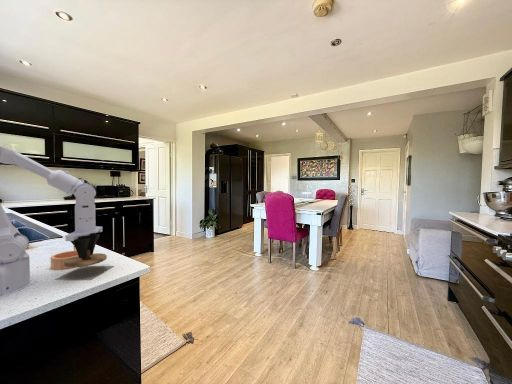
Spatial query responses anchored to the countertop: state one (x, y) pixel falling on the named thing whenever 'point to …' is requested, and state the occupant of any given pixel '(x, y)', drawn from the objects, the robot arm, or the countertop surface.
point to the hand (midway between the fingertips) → (86, 256)
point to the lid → (85, 260)
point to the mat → (85, 273)
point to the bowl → (62, 260)
